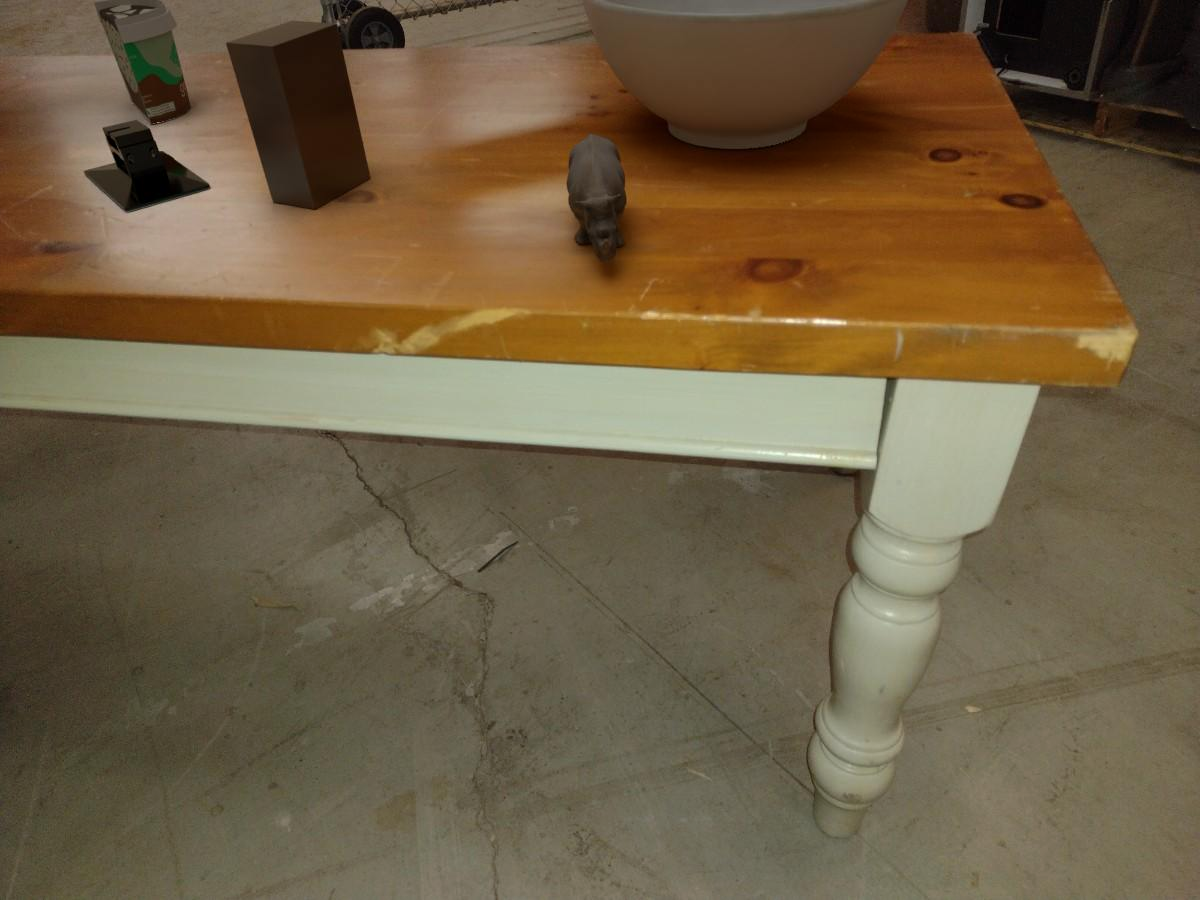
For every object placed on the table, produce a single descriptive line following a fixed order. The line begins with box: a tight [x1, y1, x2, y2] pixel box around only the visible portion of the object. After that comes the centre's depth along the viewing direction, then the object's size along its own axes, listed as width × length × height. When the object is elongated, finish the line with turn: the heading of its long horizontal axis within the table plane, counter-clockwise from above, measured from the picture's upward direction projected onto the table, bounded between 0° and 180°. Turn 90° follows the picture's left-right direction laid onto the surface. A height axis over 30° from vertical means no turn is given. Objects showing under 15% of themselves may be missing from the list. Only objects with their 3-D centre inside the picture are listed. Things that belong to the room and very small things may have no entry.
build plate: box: [83, 119, 211, 213], centre depth 74 cm, size 12×7×5 cm, turn 40°
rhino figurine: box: [566, 133, 628, 264], centre depth 59 cm, size 4×14×6 cm, turn 2°
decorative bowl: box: [581, 0, 909, 150], centre depth 75 cm, size 27×27×12 cm
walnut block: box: [225, 20, 371, 210], centre depth 68 cm, size 4×7×12 cm, turn 154°
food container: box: [93, 0, 192, 125], centre depth 90 cm, size 12×6×10 cm, turn 34°
